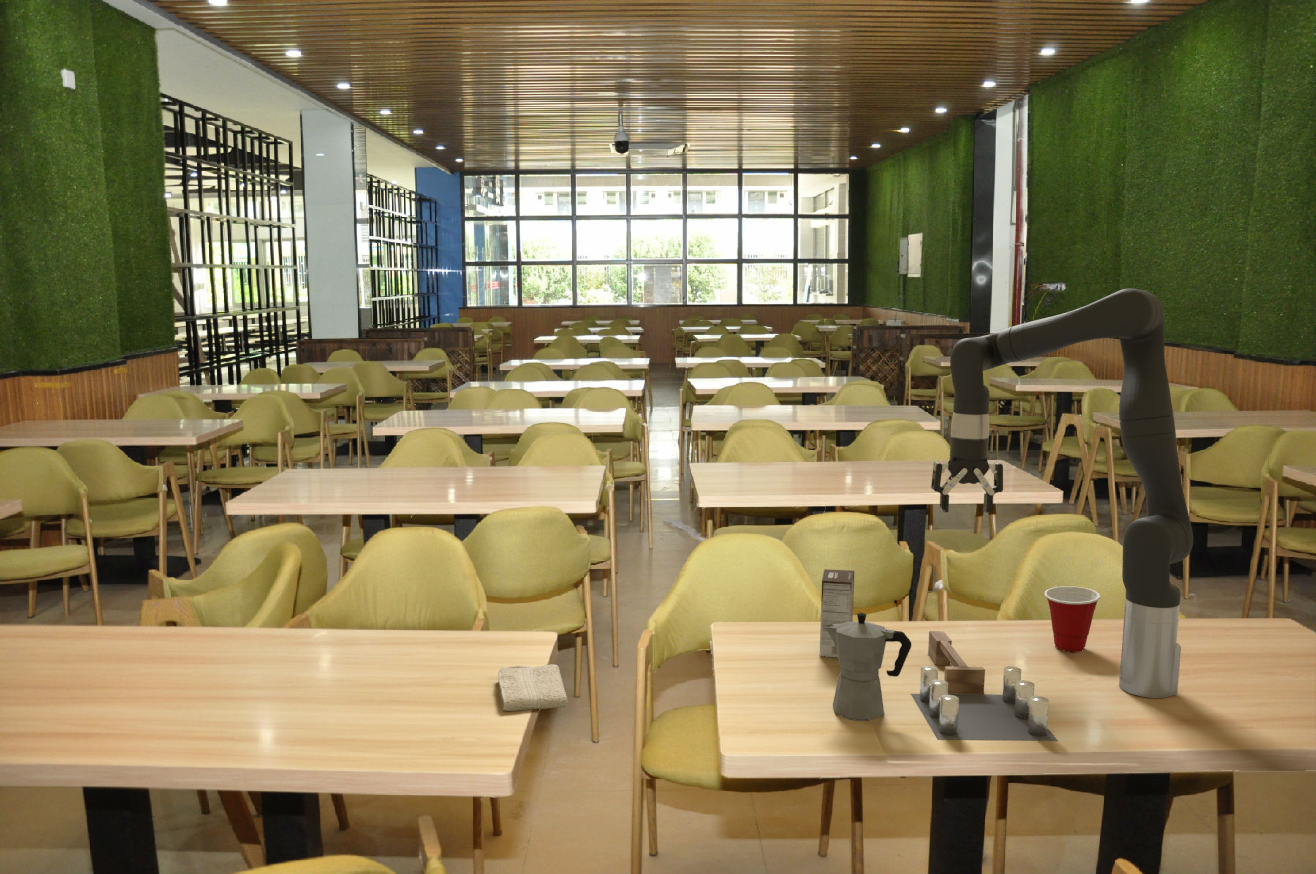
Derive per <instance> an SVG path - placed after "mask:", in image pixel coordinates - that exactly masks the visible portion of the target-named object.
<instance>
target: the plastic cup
mask: <svg viewBox="0 0 1316 874" xmlns="http://www.w3.org/2000/svg"><path fill="white" fill-rule="evenodd" d="M1044 596H1045V598H1046V599H1047V603H1048V605H1049V606H1048V607H1049V613H1050V619H1051V620H1050V621H1051V627H1052V628H1051V629H1052V632H1053V642H1054V646H1055V648H1056V649H1057V648H1058V649H1057V650H1060V649H1061V650H1060V651H1063V650H1065V651H1064V652H1067V651H1072V652H1071V653H1079V652H1083V651H1084V650H1085V648H1086V646H1087V645H1086V644H1087V639H1088V637H1089V635H1090V630H1091V627H1092V622H1093V618H1094V614H1095V610H1096V607H1097V604H1098V601H1099V599H1101V595H1100V593H1099V591H1096V590H1094V589H1090V588H1087V587H1082V586H1075V585H1074V586H1073V585H1071V586H1070V585H1066V586H1065V585H1062V586H1053V587H1051V588H1047V589H1046V590H1045V591H1044ZM1082 650H1083V651H1082Z"/></svg>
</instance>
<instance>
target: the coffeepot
mask: <svg viewBox="0 0 1316 874" xmlns="http://www.w3.org/2000/svg"><path fill="white" fill-rule="evenodd" d="M856 616H857V621H853V622H845V623H842V624H831V625H827V626H825V628H824V629H825V630H827V631H828V633H829V635H830V636H831V638H832V640H833V642H834V644H835V646H836V647H837V651H838V657H837V659H838V664H839V666H840V671H839V672H840V673H839V674H838V678H837V682H836V687H835V693H834V696H833V702H832V707H833V711H834V713H835V714H836V715H837V716H840V717H841V718H844V719H848V720H852V721H858V722H859V721H860V722H861V721H862V722H866V721H869V720H873V719H876V718H879V717H880V716H882V715H884V714H885V709H884V708H885V707H884V701H883V693H882V687H881V679H880V676H879V672H880V671H879V669H882V665H883V659H884V656H885V655H884V654H885V650H886V643H887V642H889V643H890V642H892V643H894V642H896V643H897V642H898V643H900V645H901V646H899V647H900V648H899V650H898V655H897V658H896V660H895V661H894V669H893V670H891V669H890V670H888V669H886V674H887V676H888V677H899V676H900V674H901V672H902V669H903V667H904V664H905V662H906V660H907V658H908V656H909V653H910V651H911V650H912V641H911V640H910V639H909V637H908V636H907V634H906V633H905V632H904V631H899V630H893V629H889V628H888V629H887V628H886V627H885V626H883V625H880V624H876V623H872V622H869V621H866V618H867V613H866V612H858V613H857V614H856Z"/></svg>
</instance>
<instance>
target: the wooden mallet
mask: <svg viewBox="0 0 1316 874" xmlns="http://www.w3.org/2000/svg"><path fill="white" fill-rule="evenodd" d="M952 642H953V640H951V638H950V637H949V635H948V634H947V633H946V632H945V631H944V630H929V631H928V649H927V650H928V651H927V655H928V656H930V657H929V658H930V659H931V661H932V663H933V664H934V665H935V666H944V678H943V680H944V681H946V682H948V694H985V682H986V681H985V679H986V678H985V677H986V669H985V668H984V667H983V666H968V664H967V663H966V662H965V661H964V660H963V658H962V657H961V655H960V654H959V653H958V651H956V649H955V648H954V647H953V645H952Z"/></svg>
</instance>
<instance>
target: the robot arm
mask: <svg viewBox="0 0 1316 874" xmlns="http://www.w3.org/2000/svg"><path fill="white" fill-rule="evenodd" d="M1110 338H1112V339H1113V338H1119V339H1118V340H1119V344H1120V349H1121V353H1122V358H1123V359H1122V360H1123V375H1122V376H1123V377H1122V378H1123V379H1122V382H1121V383H1122V384H1121V390H1120V396H1119V402H1118V403H1119V406H1118V407H1119V408H1118V417H1119V418H1118V419H1119V427H1120V435H1121V436H1120V437H1121V444H1122V448H1123V451H1124V452H1125V454H1126V456H1127V459H1128V460H1129V463H1130V465H1131V466H1132V467H1133V469H1134V471H1135V472H1136V474H1137V475H1138V478H1139V479H1140V481H1141V484H1142V487H1143V490H1144V493H1145V494H1144V495H1145V500H1146V510H1147V513H1146V514H1147V516H1143V517H1140V518H1137V519H1135V520H1133V521H1132V522H1130V524H1128V526H1127V527H1126V530H1125V532H1124V537H1123V540H1122V541H1123V544H1122V568H1121V569H1122V570H1121V571H1122V572H1121V574H1122V575H1121V576H1122V582H1123V583H1122V584H1123V585H1124V589H1125V602H1124V611H1123V612H1124V615H1123V625H1122V626H1123V629H1122V643H1121V651H1120V652H1121V653H1120V654H1121V655H1120V664H1119V665H1120V667H1119V668H1120V669H1119V674H1118V675H1119V681H1118V686H1119V687H1120V689H1121V690H1122V691H1124V692H1127V693H1129V694H1132V695H1134V696H1138V697H1142V698H1151V699H1163V698H1167V697H1171V696H1177V695H1178V689H1179V680H1180V679H1179V678H1180V667H1181V655H1182V653H1181V652H1182V646H1181V645H1180V644H1179V643H1178V642H1177V641H1178V628H1179V616H1180V604H1181V593H1182V592H1181V590H1180V588H1179V587H1178V586H1177V585H1175V584H1172V583H1171V580H1170V572H1171V570H1170V568H1171V564H1175V563H1176V564H1177V563H1179V562H1181V561H1183V560H1185V559H1186V558H1188V556H1189V555H1190V553H1191V552H1192V548H1193V545H1194V533H1193V527H1192V523H1191V519H1190V515H1189V511H1188V506H1187V502H1186V497H1185V493H1184V489H1183V483H1182V482H1183V481H1182V475H1181V468H1180V461H1179V460H1180V458H1179V453H1178V444H1177V443H1178V442H1177V433H1176V425H1175V418H1174V414H1175V413H1174V409H1173V403H1172V396H1171V395H1172V394H1171V389H1170V383H1169V376H1168V373H1167V367H1166V360H1165V359H1166V358H1165V357H1166V356H1165V311H1164V307H1163V305H1162V302H1161V301H1160V300H1159V298H1158V297H1157V295H1155V294H1154V293H1152V292H1150V291H1148V290H1144V289H1138V288H1132V287H1131V288H1129V287H1128V288H1123V289H1120V290H1118V291H1115V292H1113V293H1111V294H1110V295H1109V294H1108V295H1107V296H1104V297H1102V298H1100V299H1098V300H1096V301H1094V302H1091V303H1089V304H1087V305H1084V306H1081V307H1079V308H1076V309H1073V310H1070V311H1066V312H1065V313H1060V314H1056V315H1052V316H1049V317H1044V318H1041V319H1040V318H1039V319H1036V320H1032V321H1027V322H1024V323H1020V324H1016V325H1014V326H1010V327H1007V328H1004V329H1002V330H1001V331H999V332H994V333H989V334H987V335H982V336H977V337H967V338H966V337H965V338H962V339H960V340H958V341H957V342H956V343H955V344H954V346H953V347H952V350H951V352H950V358H949V359H950V363H949V364H950V365H949V366H950V375H951V382H952V386H953V391H954V394H953V409H952V417H951V426H950V441H949V442H950V443H949V446H950V447H949V459H948V462H939V461H934V462H933V465H932V466H933V468H932V475H931V484H930V485H931V486H930V488H931V489H932V490H933V491H934V492H937V493H939V508H940V509H941V510H942V512H943V513H949V508H950V506H949V505H950V491H951V490H953V488H955V487H956V486H957V484H958V483H959V484H960V485H965V484H971V485H977V484H979V485H980V487H982V489H983V491H985V493H983V505H982V506H983V508H982V510H983V512H984V513H985V514H989V513H990V512H991V511H992V510H993V506H994V495H995V494H998V493H1002V492H1003V490H1004V465H1003V464H1002V463H1000V462H998V461H995V462H993V463H992V462H991V463H989V462H988V459H989V458H988V455H989V454H988V453H989V437H990V419H989V418H990V414H989V413H990V390H989V387H988V386H986V385H985V383H984V371H988V370H991V369H994V368H998V367H1001V366H1004V365H1007V364H1010V363H1016V362H1017V363H1018V362H1022V361H1026V360H1029V359H1034V358H1038V357H1042V356H1046V355H1048V354H1052V353H1054V352H1056V351H1059V350H1062V349H1063V348H1068V347H1070V346H1073V345H1075V344H1078V343H1079V344H1080V343H1082V342H1087V341H1088V342H1089V341H1093V340H1101V339H1110ZM946 470H948V471H949V473H950V474H949V476H948V477H947V478H946V479H945V482H944V483H943V484H942V485H941V482H942V481H941V480H942V474H944V473H945V471H946ZM989 470H990V472H991V474H993V486H991V485H990V483H989V481H988V480H987V479H986V477H985V475H986V474H987V473H988V471H989Z"/></svg>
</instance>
